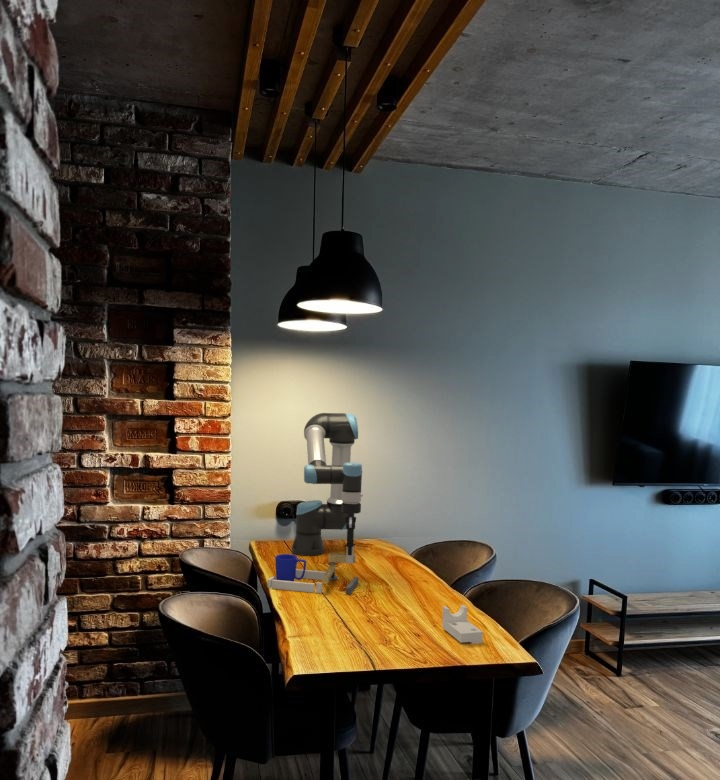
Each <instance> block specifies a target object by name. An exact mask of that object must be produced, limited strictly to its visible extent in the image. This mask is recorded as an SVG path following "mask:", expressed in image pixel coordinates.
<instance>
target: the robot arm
mask: <svg viewBox="0 0 720 780" xmlns="http://www.w3.org/2000/svg"><path fill="white" fill-rule="evenodd" d="M303 436H304V437H303V438H304V439H305V440H306V449H307V453H306V454H307V465H306V464H305V465H304V467H303V468H304V469H303V481H304V483H305V484H310V485H327V484H328V485H330V494H329V495H330V496H329V497H328V498H327V499H326V503H323V501H322V500H319V499H317V500H315V499H314V500H313V499H312V500H306V501H302V502H299V503H298V504H297V506H296V513H295V515H296V521H295V524H296V525H295V536H294V540H293V542H292V545H291V553H292V554H293V555H296V556H297V555H298V556H318V555H323V554H324V553H325V546H324V545H325V544H324V542H323V537H322V530H336V531H337V530H340V531H342V530H346V544H344V547H346V551H345V552H346V553H345V554H346V563H345V564H354V563H353V554H354V546H356V543H354V542H355V541H354V537H355V536H354V534H355V529H356V522H357V517H356V516H355V514H356V515H357V514H360V513H361V510H362V509H361V508H362V504H361V501H362V497H364V494H362V484H363V483H362V480H363V479H362V478H363V477H362V476H363V465H362V463H360V462H351V459H352V457H351V454H352V452H351V451H352V446H353V445H354V444H355V441H356V440H357V439H359V426H358V419H357V417H356V415H355V414H353V413H346V412H345V413H344V412H341V413H340V412H337V413H336V412H334V413H333V412H320V413H318V414H317V413H316V414H315V415H314V416H312V417H311V418H310V419H309V420H308V421H307V422H306V424H305V426H304V429H303ZM325 439H329V444H330V445H331V446H332V448H331V450H332V451H331V465H328V464H327V457H326V456H327V455H326V447H325Z"/></svg>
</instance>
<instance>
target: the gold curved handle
mask: <svg viewBox="0 0 720 780" xmlns="http://www.w3.org/2000/svg"><path fill="white" fill-rule="evenodd" d="M356 559H357V554H356V553H353V563H352V564H356V563H357V562H356ZM328 563H329V566H328V567H327V569H326V571H325V572H326V573H325V575H324V580H322V581H323V582H322V584H329V582H330V578H331V577H334V576H336V575H335V574H336V563H343V564H347V563H346V553H341V552H337V553H336V552H329V553H328Z"/></svg>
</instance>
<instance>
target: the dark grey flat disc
mask: <svg viewBox="0 0 720 780" xmlns="http://www.w3.org/2000/svg"><path fill="white" fill-rule="evenodd" d="M338 578H339V576H337V575H335V576H334V577H331V578H330V581H332V582H335V581H338ZM330 581H329V582H330Z"/></svg>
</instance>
